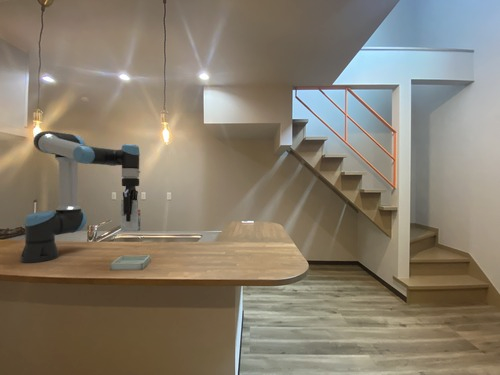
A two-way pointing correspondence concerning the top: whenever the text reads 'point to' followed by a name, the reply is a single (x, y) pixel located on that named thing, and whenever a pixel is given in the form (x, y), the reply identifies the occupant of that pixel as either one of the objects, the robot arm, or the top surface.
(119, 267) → the tray
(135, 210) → the ink box
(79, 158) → the robot arm
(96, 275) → the top surface
